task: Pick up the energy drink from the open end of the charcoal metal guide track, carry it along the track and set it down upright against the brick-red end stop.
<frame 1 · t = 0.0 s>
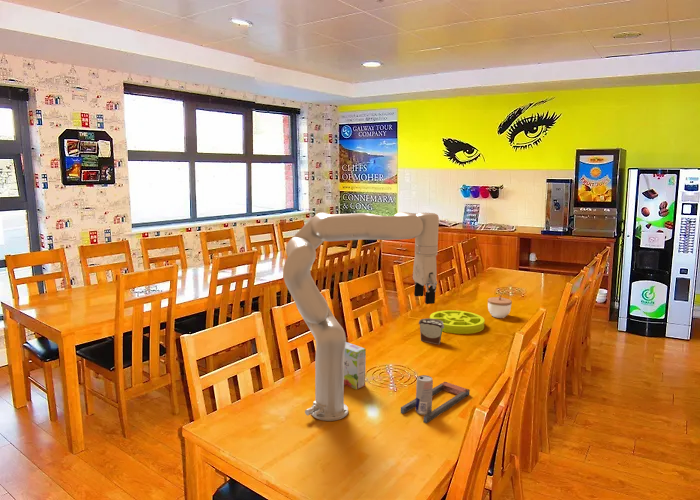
hand: (424, 299, 175), 37 cm above the table, tool pointing down, fingers open, 9 cm apart
energy drink: (423, 412, 174), resting in guide track
lidded bowl: (498, 316, 284), on the table
pulley: (456, 326, 268), on the table
guide track: (436, 403, 180), on the table
food container: (432, 341, 244), on the table
snack box: (340, 380, 199), on the table
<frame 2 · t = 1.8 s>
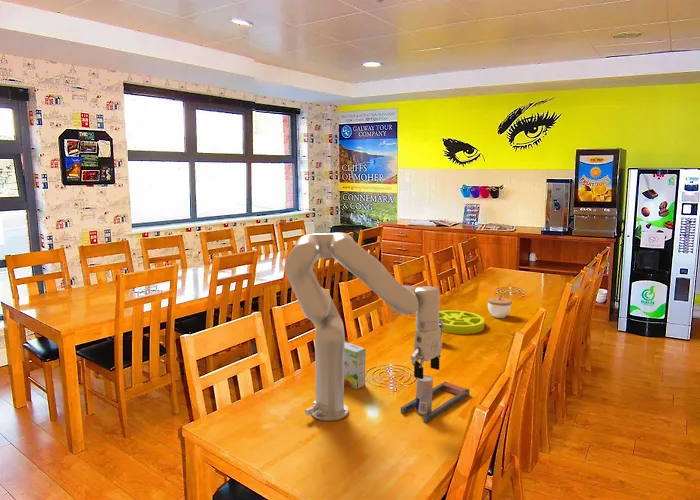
hand: (426, 373, 172), 14 cm above the table, tool pointing down, fingers open, 9 cm apart
nothing on the table moved.
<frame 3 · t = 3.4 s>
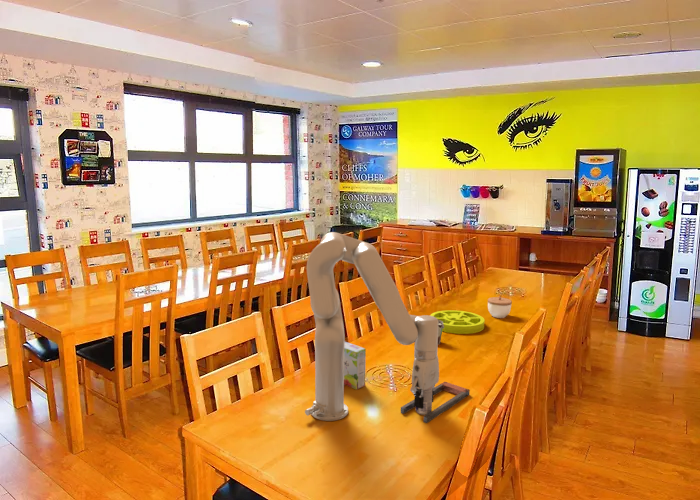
hand: (423, 403, 174), 3 cm above the table, tool pointing down, fingers closed on energy drink, 5 cm apart
energy drink: (423, 412, 174), resting in guide track, touching gripper
everything else where it was.
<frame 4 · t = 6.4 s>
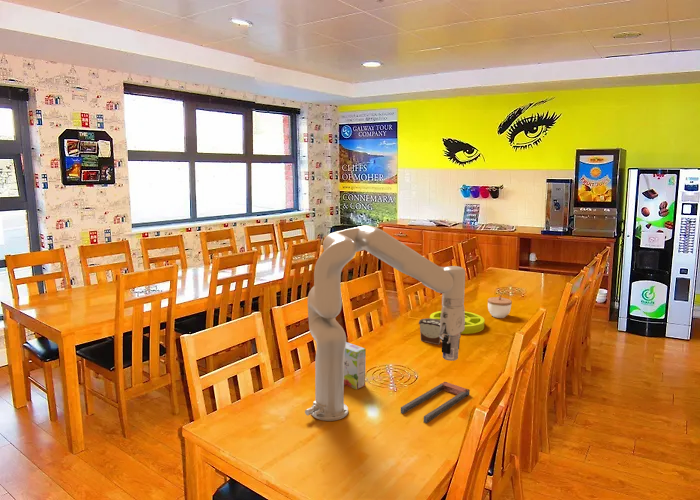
hand: (450, 350, 183), 17 cm above the table, tool pointing down, fingers closed on energy drink, 5 cm apart
energy drink: (450, 358, 184), point 14 cm above the table, touching gripper
everything else where it was.
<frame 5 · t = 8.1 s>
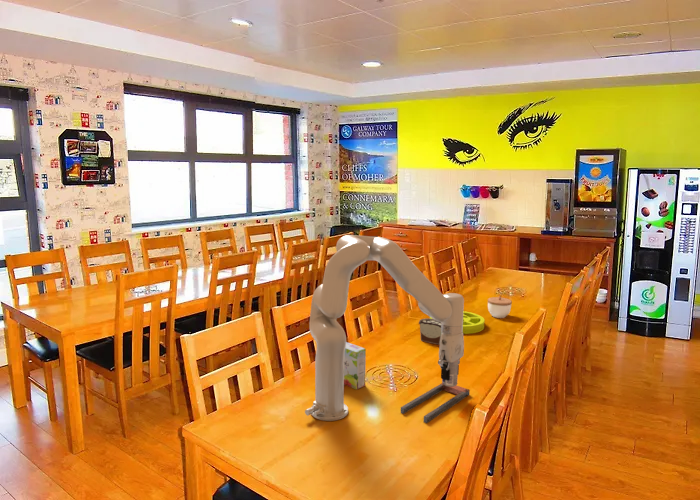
hand: (449, 376, 185), 7 cm above the table, tool pointing down, fingers closed on energy drink, 5 cm apart
energy drink: (449, 384, 186), point 4 cm above the table, touching gripper
everything else where it was.
when the fingers open (4 cm above the table, at t = 9.3 s): energy drink stays where it is, resting in guide track.
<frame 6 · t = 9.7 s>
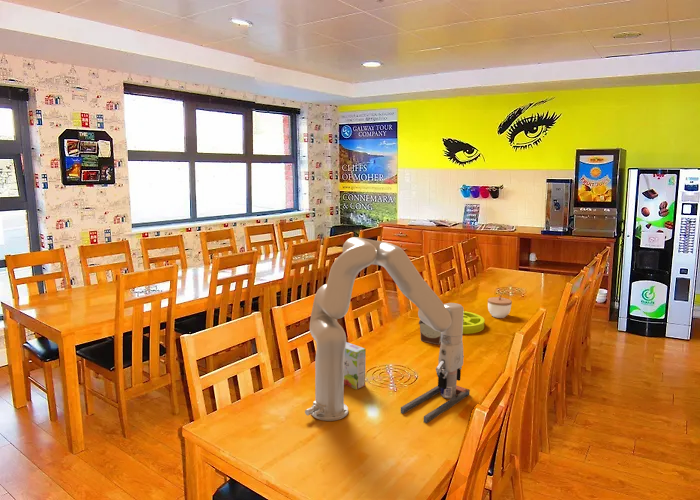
hand: (449, 383, 186), 5 cm above the table, tool pointing down, fingers open, 9 cm apart
energy drink: (448, 396, 186), resting in guide track
everything else where it was.
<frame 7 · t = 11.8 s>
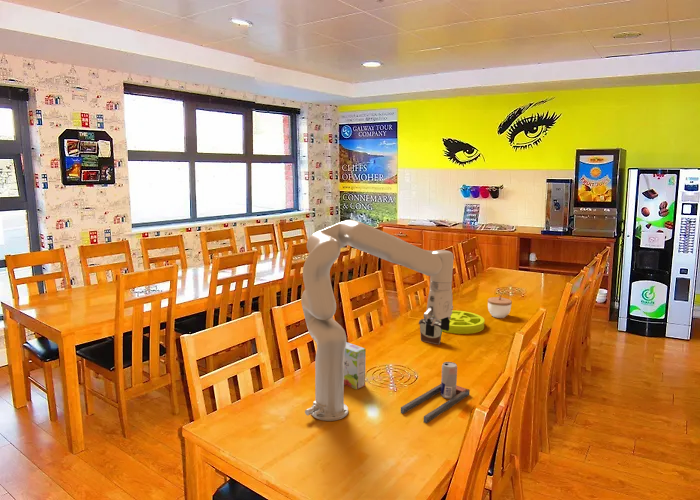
hand: (437, 332, 183), 24 cm above the table, tool pointing down, fingers open, 9 cm apart
nothing on the table moved.
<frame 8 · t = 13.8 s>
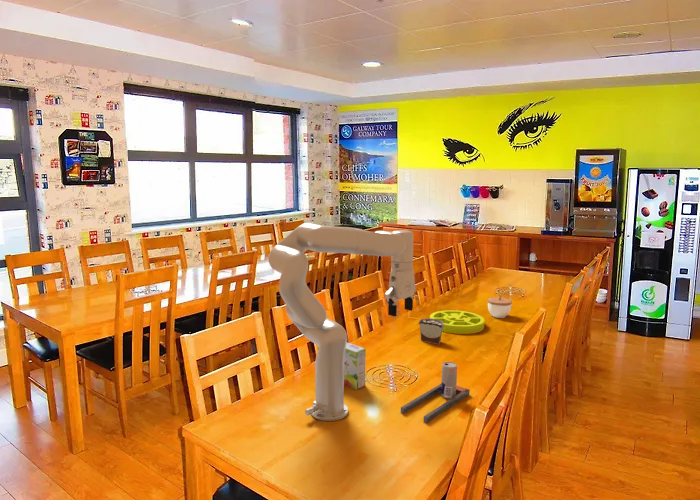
hand: (400, 312, 183), 30 cm above the table, tool pointing down, fingers open, 9 cm apart
nothing on the table moved.
at the end: energy drink 0.6 cm from the target spot, resting in guide track; energy drink tilted 0°; the gripper is holding nothing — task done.
